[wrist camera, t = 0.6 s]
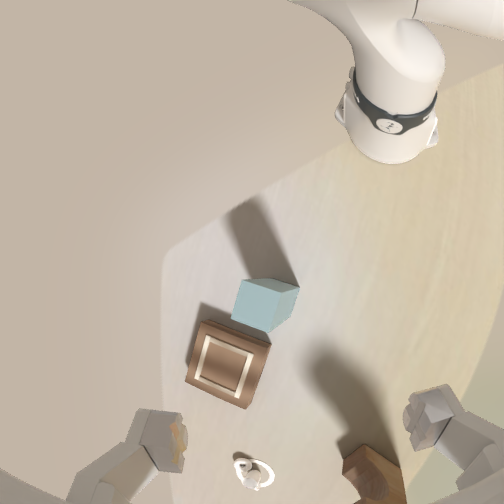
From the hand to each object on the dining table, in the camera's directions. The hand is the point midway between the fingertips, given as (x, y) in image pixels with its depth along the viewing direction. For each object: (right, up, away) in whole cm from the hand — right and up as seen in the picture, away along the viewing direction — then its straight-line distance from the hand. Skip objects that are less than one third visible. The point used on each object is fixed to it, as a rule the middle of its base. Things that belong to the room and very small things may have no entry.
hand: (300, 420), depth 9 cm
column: (+3, -2, +40) cm, 40 cm away
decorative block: (+20, -33, +32) cm, 50 cm away
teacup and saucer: (0, -35, +39) cm, 53 cm away
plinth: (-6, -14, +42) cm, 44 cm away
